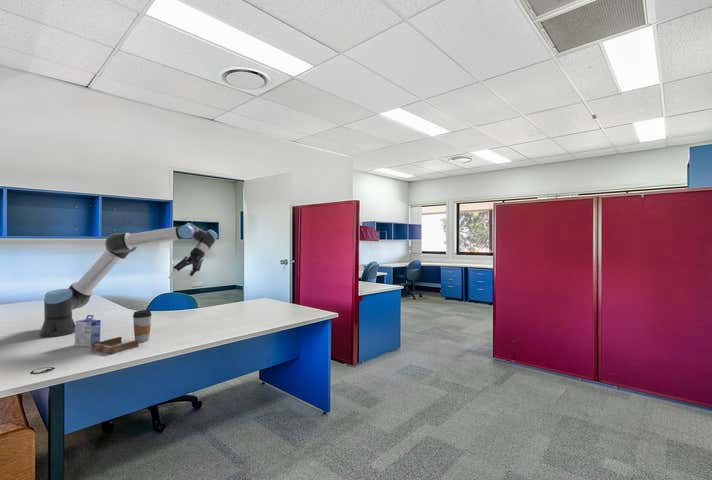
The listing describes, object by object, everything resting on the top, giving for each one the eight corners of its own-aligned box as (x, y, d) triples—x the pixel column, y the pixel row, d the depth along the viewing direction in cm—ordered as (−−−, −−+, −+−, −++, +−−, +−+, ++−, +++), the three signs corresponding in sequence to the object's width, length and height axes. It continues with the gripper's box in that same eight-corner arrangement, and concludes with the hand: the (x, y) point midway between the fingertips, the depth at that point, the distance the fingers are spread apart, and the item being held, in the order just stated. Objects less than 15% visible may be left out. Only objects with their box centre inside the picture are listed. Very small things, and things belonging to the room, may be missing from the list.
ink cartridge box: (101, 344, 176) (101, 315, 176) (90, 347, 171) (91, 317, 171) (84, 342, 178) (84, 313, 178) (74, 346, 173) (74, 316, 173)
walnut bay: (91, 350, 167) (91, 343, 167) (119, 342, 179) (119, 336, 179) (111, 354, 162) (111, 347, 162) (138, 346, 174) (138, 340, 174)
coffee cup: (155, 339, 185) (155, 310, 185) (140, 343, 178) (141, 314, 177) (143, 337, 188) (143, 309, 188) (128, 342, 180) (128, 312, 180)
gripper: (217, 255, 212) (197, 284, 199) (189, 255, 223) (168, 282, 210) (210, 247, 207) (188, 276, 194) (181, 247, 218) (159, 274, 205)
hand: (178, 279), depth 202 cm, fingers open, 13 cm apart
